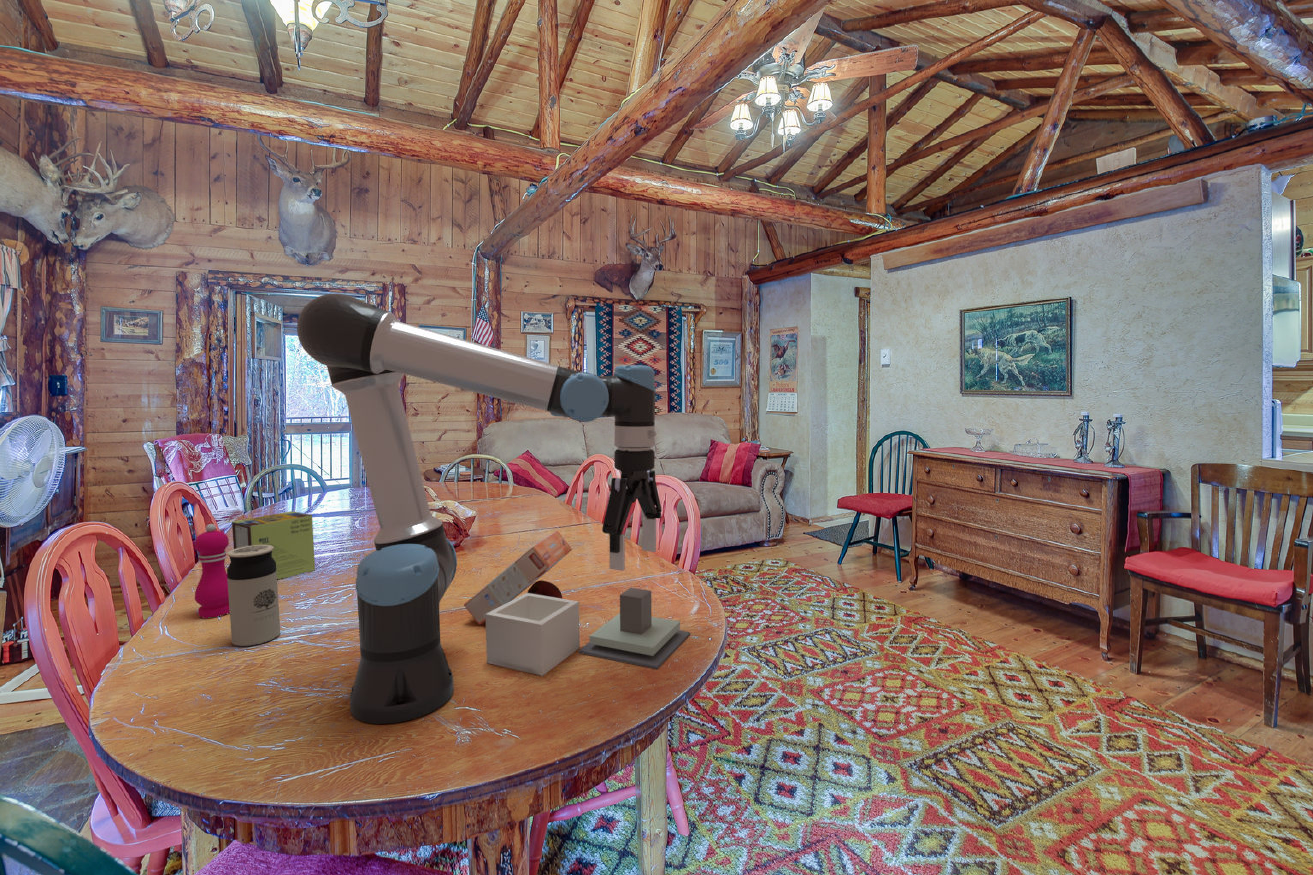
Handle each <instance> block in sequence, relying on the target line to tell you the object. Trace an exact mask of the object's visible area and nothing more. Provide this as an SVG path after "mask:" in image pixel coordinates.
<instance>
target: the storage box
mask: <svg viewBox="0 0 1313 875" xmlns="http://www.w3.org/2000/svg"><path fill="white" fill-rule="evenodd" d="M485 617H486V621H485V640H486V643H485V644H486V645H485V646H486V664H490V665H493V666H494V665H495V666H498V667H504V668H507V669H511V670H515V671H520V672H523V673H528V674H533V675H537V676H541V677H543V676H544V675H545V674H547V673H548V672H550V671H551V670H552V669H554V668H555V667H556V666H558V665H559V664H560V663H562V662H563V661H565V659H567V658H568V657H570V656H571V655H572V654H574V653H575V652H576V651H577V650H580V649H581V647H580V643H581V642H580V601H579V600H571V599H566V598H562V599H561V598H555V597H549V596H543V595H537V594H531V593H527V592H525V593H523V594H522V595H518V596H517V597H515V598H514V599H513V600H512V601H510V602H508V603H506V604H504V605H502V606H500V607H498V608H496V609H494V610H492V611H490V612H489V613H487V614H485Z"/></svg>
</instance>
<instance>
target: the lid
mask: <svg viewBox="0 0 1313 875" xmlns="http://www.w3.org/2000/svg"><path fill="white" fill-rule="evenodd" d="M680 629H681V621H680V620H675V619H674V620H673V619H669V618H668V619H667V618H662V617H656V616H652V590H650V589H649V590H648V589H641V588H635V587H629V588H628V589H626V590H625V591H623V592H622V593H620V594H619V613H618V614H616V615H615V616H613V617H612V618H611V619H610V620H608V621H607V622H605V624H603V625H602V626H600V627H599V628H598V629H596V630H595V631H594V632H592V633H590V635H589V642H590V644H595V645H600V646H605V647H610V648H615V649H620V650H625V651H630V652H636V653H641V654H646V655H651V656H653V655H654V654H655V653H656V652H657V651H658V650H659V649H660V648H661V647H662V646H663V645H664V644H665V643H666V642H667V641H668V640H669V639H670V638H671V637H672V636H673V635H674V634H675V633H676V632H677V631H678V630H680Z"/></svg>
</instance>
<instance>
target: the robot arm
mask: <svg viewBox="0 0 1313 875" xmlns="http://www.w3.org/2000/svg"><path fill="white" fill-rule="evenodd" d="M296 331H297V332H296V333H297V337H298V341H299V343H300V344H301V347H302V349H303V350H304V351H305V352H306V354H308V356H310V357H311V358H312V359H313V360H314V361H315V362H316V361H317V362H318V363H320V364H322V365H324V366H326V368H327V372H328V376H329V379H330V383H331V386H332V388H334V389H335V390H337V391H339V392H341V393H342V394H343V395H344V397H345V400H346V404H347V409H348V412H349V415H350V421H351V423H352V427H353V431H354V435H355V439H356V443H357V445H358V448H359V453H360V457H361V461H362V464H363V469H364V472H365V475H366V476H365V477H366V480H367V484H368V487H369V491H370V495H371V498H372V502H373V506H374V510H375V514H376V518H377V520H378V526H379V531H378V532H377V534H376V536H374V538H373V543H374V547H375V550H374V551H372V552H370V553H369V554H367V555H366V556H365V557H363V558H362V559H361V560H360V562H359V564H358V566H357V570H356V578H355V591H356V595H357V613H358V629H359V630H358V635H359V651H360V659H359V663H358V667H357V670H356V674H355V679H354V683H353V685H352V687H351V690H350V693H349V709H350V710H349V711H350V714H351V715H352V716H353V717H354V718H355V719H356V720H358V721H361V722H364V723H368V724H375V725H376V724H377V725H378V724H379V725H381V724H383V725H385V724H397V723H402V722H406V721H407V722H408V721H411V720H415V719H417V718H421V717H423V716H425V715H428V714H430V713H432V712H434V711H436V710H438V709H439V708H441V707H442V706H444V705H445V704H446V703H447V702H448V701H449V700H450V699H451V697H452V696H453V694H454V690H455V688H454V687H455V686H454V674H453V671H452V669H451V668H450V666H449V662H448V659H447V656H446V655H445V652H444V650H443V648H442V644H441V643H442V642H441V625H440V624H441V623H440V622H441V618H440V615H441V614H440V603H441V601H442V599H443V597H444V595H445V594H446V592H447V590H448V588H449V587H450V586H451V585H452V582H453V581H454V579H455V576H456V574H457V567H458V560H457V559H458V558H457V557H458V556H457V553H456V549H455V547H454V545H453V544H452V542H451V541H450V540H449V539H448V538H447V535H446V531H445V527H444V524H443V521H442V520H441V519H439V518H437V517H435V516H433V514H432V513H431V508H430V505H429V501H428V497H427V494H426V489H425V485H424V482H423V478H422V472H421V470H420V466H419V463H418V457H417V455H416V450H415V446H414V442H413V438H412V434H411V431H410V430H411V429H410V427H409V424H408V419H407V415H406V410H405V408H404V403H403V399H402V395H401V391H400V388H399V385H400V382H401V380H402V379H403V378H404V376H405V375H407V376H411V377H414V378H417V379H418V378H419V379H422V380H426V381H430V382H434V383H438V384H441V385H446V386H449V387H453V388H456V389H461V390H465V391H469V392H471V393H472V392H473V393H475V394H479V395H480V394H481V395H484V396H488V397H492V398H495V399H500V400H503V401H507V402H511V403H514V404H519V405H522V406H526V407H531V408H534V409H537V410H542V411H545V412H549V413H550V415H551V416H553V417H561V418H562V417H563V418H570V419H572V420H574V421H577V422H583V423H589V422H592V421H594V420H596V419H598V418H599V417H606V418H608V417H609V418H610V417H614V440H613V442H614V447H616V449H615V450H614V457H613V458H614V459H613V460H614V466H613V467H614V468H615V469H616V470H617V471H620V478H619V477H612V478H611V482H610V484H611V485H610V494H609V498H608V502H607V507H606V511H605V515H604V520H603V525H602V527H601V528H602V533H603V534H607V535H609V569H610V570H614V571H615V570H616V571H621V572H623V571H625V570H626V569H625V568H626V567H625V566H626V565H625V564H626V554H625V552H626V546H625V545H626V536H625V535H626V534H625V533H623V532H624V529H625V526H626V523H627V520H628V518H629V517H628V516H629V514H630V511H631V508H632V505H633V503H636V501H637V502H638V504H639V506H640V508H641V511H642V513H643V515H644V517H643V518H642V521H641V522H642V528H641V530H642V531H641V532H642V535H641V537H642V538H641V539H642V540H641V542H642V544H641V545H642V546H641V548H642V549H641V550H642V551H643V552H650V553H655V552H657V519H659V520H660V519H662V505H661V501H660V500H661V499H660V496H659V491H658V488H657V487H658V486H657V481H656V471H655V470H654V469H655V463H656V462H655V461H656V460H655V458H656V457H655V451H654V449H652V448H653V447H654V446H655V437H656V436H657V432H656V431H655V425H656V424H655V422H656V419H655V418H656V417H655V416H656V392H657V390H656V383H655V382H656V381H655V380H656V379H655V378H656V377H655V370H654V369H653V367H651V366H649V365H640V364H639V365H637V364H636V365H635V364H631V365H630V364H629V365H625V364H624V365H617V366H615V368H614V373H613V375H606V376H605V375H604V376H601V375H596V374H594V373H591V372H587V371H584V372H582V371H578V370H575V369H571V368H568V367H563V366H560V365H558V364H557V365H556V364H553V363H550V362H546V361H542V360H539V359H535V358H533V357H528V356H525V355H522V354H518V353H517V354H516V353H514V352H510V351H507V350H502V349H499V348H496V347H492V346H488V345H484V344H481V343H478V342H474V341H470V340H467V339H463V338H461V337H460V338H459V337H455V336H453V335H450V334H449V335H448V334H447V333H446V334H445V333H441V332H438V331H434V330H431V329H427V328H423V327H419V326H416V325H412V324H409V323H405V322H402V321H399V320H398V319H397V317H396V315H395V314H394V313H393V312H391V311H387V310H384V309H381V308H380V307H378V306H376V305H374V304H370V303H367V302H364V301H362V300H360V299H359V298H356V297H354V296H352V295H348V294H344V293H343V294H342V293H328V294H322V295H319V296H317V297H315V298H314V299H312V300H310V301H309V302H308V303H307V304H306V305H304V307H303V308H302V310H301V312H300V313H299V315H298V319H297V326H296Z"/></svg>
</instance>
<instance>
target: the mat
mask: <svg viewBox="0 0 1313 875" xmlns="http://www.w3.org/2000/svg"><path fill="white" fill-rule="evenodd" d="M690 635H691V631H685V630H680V629H679V630H678V631H677V632H676V633H675V634H674V635H673V636H672V637H671V638H670V639H669V640H668V641H667V642H666V643H665V644H664V645H663V646H662V647H661V648H660V649H659V650H658V651H657V652H656V653H655V654H654V655H653V656H651V655H646V654H641V653H636V652H630V651H625V650H620V649H615V648H610V647H605V646H600V645H595V644H590V641H588V642H587V644H585V645H584V646H582V647H580V648H579V649H578V654H582V655H586V656H592V657H596V658H601V659H607V660H612V661H616V662H621V663H624V664H625V663H626V664H631V665H635V666H638V667H639V666H640V667H645V668H649V669H654V670H658V669H659V668H660V667H661V666H662V665H663V663H665V662H666V661H667V660H668V659H669V657H671V656H672V654H674V652H675V651H676V650H678V648H679V647H680V646H681V645H682V644H683V643H682V642H685V640H687V639H688V637H689V636H690ZM681 643H682V644H681Z"/></svg>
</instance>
